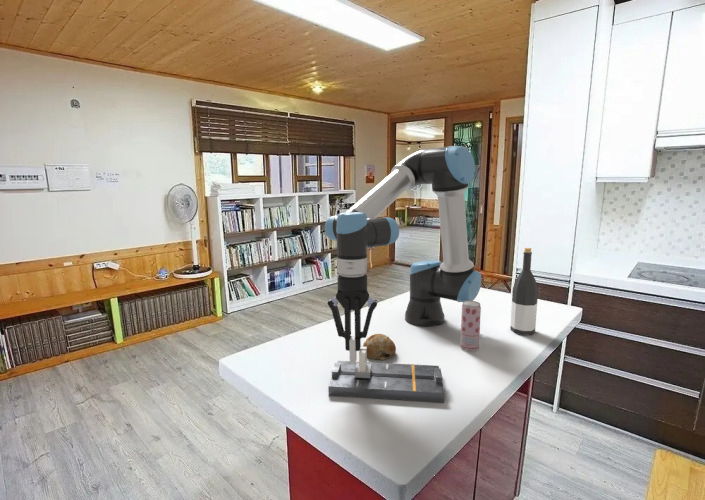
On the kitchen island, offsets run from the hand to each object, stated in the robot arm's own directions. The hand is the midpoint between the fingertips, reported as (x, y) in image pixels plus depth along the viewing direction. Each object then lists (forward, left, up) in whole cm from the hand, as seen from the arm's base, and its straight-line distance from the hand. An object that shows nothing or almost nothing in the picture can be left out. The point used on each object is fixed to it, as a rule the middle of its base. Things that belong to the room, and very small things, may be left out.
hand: (353, 361), depth 97 cm
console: (+6, +6, -6) cm, 10 cm away
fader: (+2, +2, -3) cm, 4 cm away
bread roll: (-9, +17, -6) cm, 20 cm away
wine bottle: (+9, +69, -6) cm, 70 cm away
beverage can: (+6, +42, -6) cm, 43 cm away
